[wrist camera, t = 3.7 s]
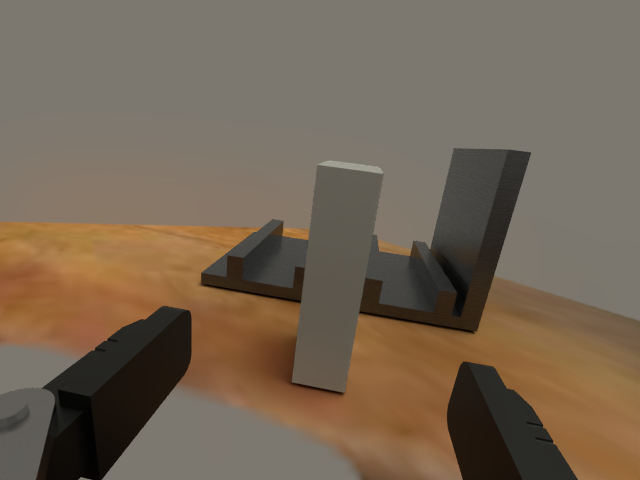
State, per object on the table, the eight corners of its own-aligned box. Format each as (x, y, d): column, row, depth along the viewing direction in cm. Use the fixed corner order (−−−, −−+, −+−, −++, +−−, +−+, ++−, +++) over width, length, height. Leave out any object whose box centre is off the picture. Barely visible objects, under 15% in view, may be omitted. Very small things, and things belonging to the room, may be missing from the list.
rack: (437, 266, 40) (466, 150, 36) (476, 331, 26) (531, 152, 22) (255, 238, 42) (262, 124, 38) (201, 283, 28) (203, 111, 24)
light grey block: (348, 340, 23) (378, 166, 19) (344, 392, 18) (383, 173, 14) (306, 333, 23) (328, 160, 19) (291, 382, 18) (317, 164, 15)
